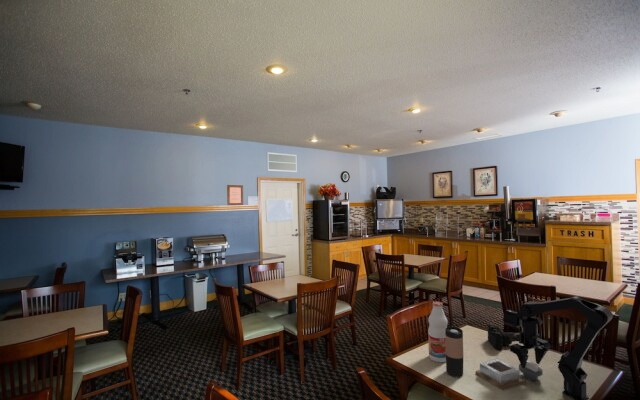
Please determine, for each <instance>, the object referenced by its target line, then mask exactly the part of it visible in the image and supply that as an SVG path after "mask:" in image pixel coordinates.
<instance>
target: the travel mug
mask: <svg viewBox="0 0 640 400" xmlns="http://www.w3.org/2000/svg"><path fill="white" fill-rule="evenodd" d="M445 348H446V362H445V369H446V374H447V375H448V376H449V377H453V378H462V377H463V376H464V330H463V329H461V328H459V327H455V326H447V328H446V329H445Z"/></svg>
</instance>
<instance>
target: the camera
mask: <svg viewBox="0 0 640 400" xmlns="http://www.w3.org/2000/svg"><path fill="white" fill-rule="evenodd" d="M509 333H510V332H507V331H502V330H501V329H500V328H499V326H494V324H493V323H489V324H488V325H487V342H489V344H490V345H491V346H492V347H493V349H494V350H495V351H498V352H501V351H503V345H505V346H511V345H513V342H512V340H509V338H508V334H509Z"/></svg>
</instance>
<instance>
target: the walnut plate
mask: <svg viewBox="0 0 640 400" xmlns="http://www.w3.org/2000/svg"><path fill="white" fill-rule="evenodd" d="M497 371H499V370H497ZM499 372H501V371H499ZM475 374H476V375H477V376H479V377H481V378H482V379H484V380H485V381H487V382H489V383H491V384H492V385H494V386H495V387H497V388H499V389H500V390H502V391H504V390H507V389H510V388H513V387H517V386H519V385H523V384H525V383H526V382H525V380H526V379H525V380H524V379H523V378H521V377H520V379H518V380H515V381H512V382H509V383H506V384H502V385H501V384H499V383H497V382H496V381H494V380H492V379H491V378H489V377H487V376H486V375H484V374H482V373H481V372H480V369H477V370H476V371H475Z"/></svg>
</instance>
